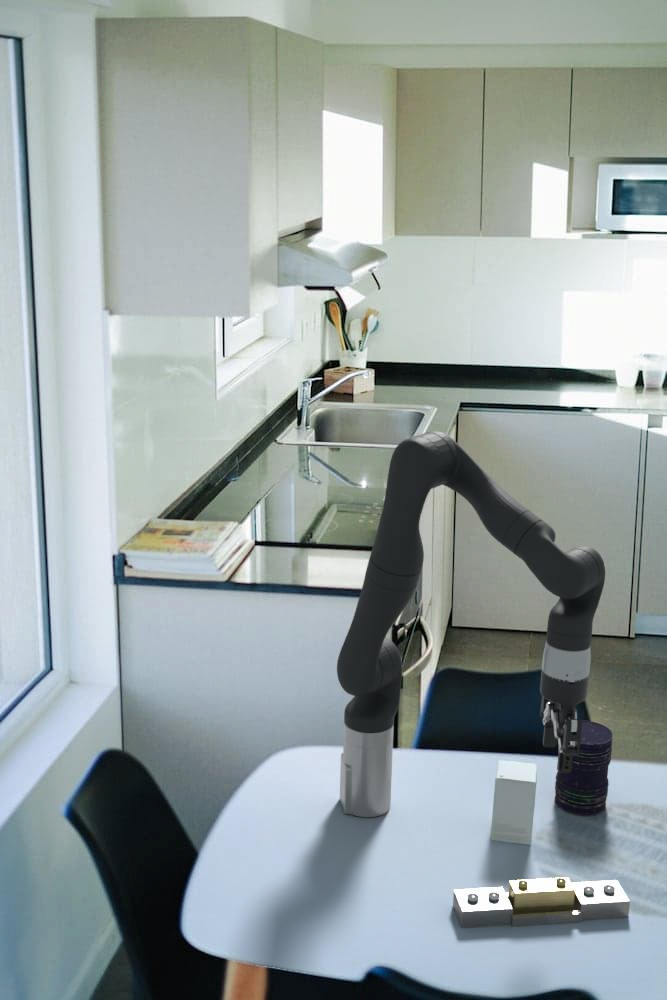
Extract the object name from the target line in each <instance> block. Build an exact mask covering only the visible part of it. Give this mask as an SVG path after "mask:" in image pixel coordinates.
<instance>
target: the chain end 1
mask: <svg viewBox="0 0 667 1000" xmlns="http://www.w3.org/2000/svg"><path fill="white" fill-rule="evenodd" d="M452 900H453V901H452V907H453V909H455V910H454V912H455V915H456V917H457V919H458V923H459V925H460V927H461V929H464V928H467V929H468V928H477V927H479V928H481V927H494V926H495V927H496V925H497V926H509V924H511V925H510V926H511V927H525V926H526V927H527V925H528V926H541V925H548V924H547V915H546V913H530V914H514V915H512V906H511V904H510V902H509V900H508V892H506V891H505V889H504V888H503V886H498V887H497V886H495V887H477V888H464V889H463V888H462V889H453V899H452ZM507 924H508V925H507ZM523 925H524V926H523Z"/></svg>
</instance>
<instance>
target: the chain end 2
mask: <svg viewBox="0 0 667 1000" xmlns="http://www.w3.org/2000/svg"><path fill="white" fill-rule="evenodd" d="M571 883H572V885H573V887H574V889H575V895H574V906H573V911H561V912H546V915H547V924H546V925H554V924H556V925H558V924H572V923H582V921H586V920H588V921H589V920H604V919H619V918H620V919H621V918H629V915H630V904H631V900H630V898H629V897H628V896H627V894H626V892H625V891H624V888H622V886H621V884H620V882H619V880H617V879H612V880H611V879H610V880H595V881H581V882H580V881H578V882H577V881H575V882H571Z"/></svg>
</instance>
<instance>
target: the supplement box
mask: <svg viewBox="0 0 667 1000" xmlns="http://www.w3.org/2000/svg"><path fill="white" fill-rule="evenodd" d="M495 771H496V772H495V778H494V779H495V781H494V790H493V792H494V793H493V803H492V804H493V805H492V819H491V828H490V829H491V830H490V840H491V841H497V842H505V843H512V844H520V845H528V846H529V845H531V844H532V835H533V833H532V832H533V826H534V823H533V822H534V816H535V815H534V814H535V803H536V793H537V782H538V781H537V778H538V764H537V763H533V762H531V763H530V762H529V763H528V762H522V761H511V760H501V759H498V760H497V765H496V770H495Z"/></svg>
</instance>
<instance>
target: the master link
mask: <svg viewBox="0 0 667 1000" xmlns="http://www.w3.org/2000/svg"><path fill="white" fill-rule="evenodd" d="M572 883H573V882H571V880H570V878H569V877H555V878H554V877H553V878H552V877H549V878H536V879H534V878H533V879H531V878H530V879H517V880H514V879H513V880H509V881H508V891H507V893H508V900H509V902H510V904H511V906H512V915H514V914H530V913H546V912H561V911H574V908H573V906H574V895H575V889H574V887H573V885H572Z"/></svg>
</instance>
